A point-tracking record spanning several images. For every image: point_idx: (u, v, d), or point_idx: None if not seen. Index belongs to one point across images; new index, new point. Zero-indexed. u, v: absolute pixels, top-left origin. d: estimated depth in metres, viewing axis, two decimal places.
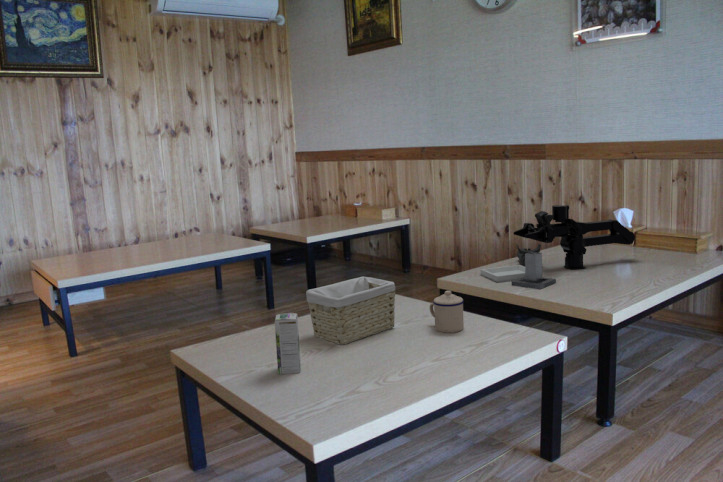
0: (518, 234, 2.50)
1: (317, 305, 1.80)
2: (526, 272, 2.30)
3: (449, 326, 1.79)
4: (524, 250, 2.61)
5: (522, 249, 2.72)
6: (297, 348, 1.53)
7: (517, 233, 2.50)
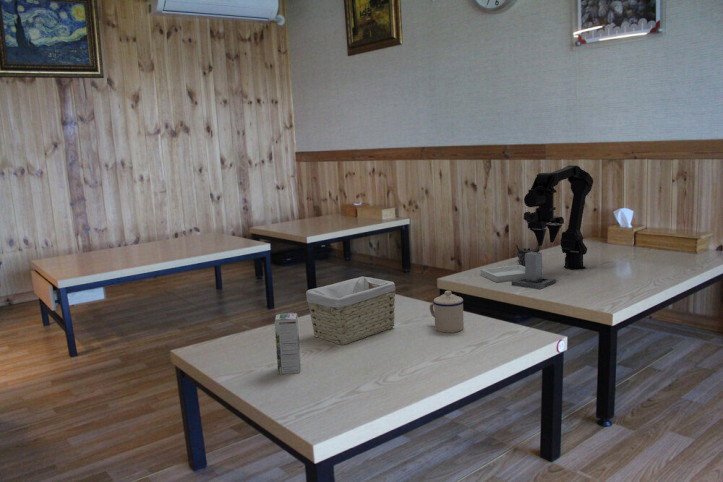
0: (553, 237, 2.42)
1: (317, 306, 1.80)
2: (526, 272, 2.30)
3: (449, 326, 1.79)
4: (523, 250, 2.61)
5: (522, 249, 2.72)
6: (297, 348, 1.53)
7: (552, 238, 2.43)
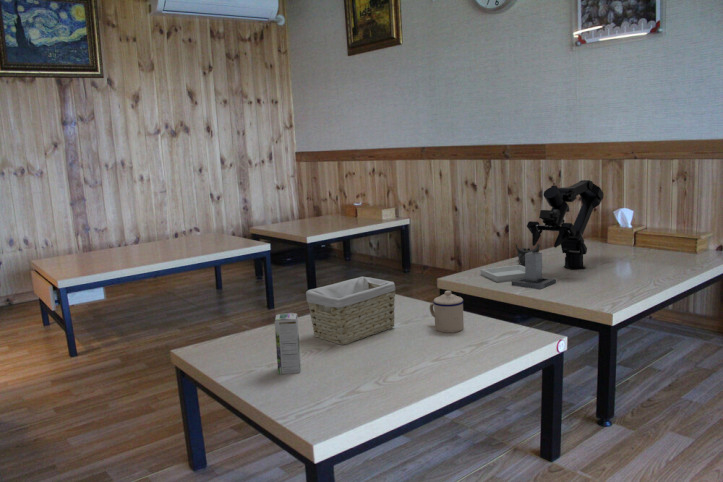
0: (536, 242, 2.39)
1: (317, 306, 1.79)
2: (526, 272, 2.30)
3: (449, 326, 1.79)
4: (523, 250, 2.61)
5: (522, 249, 2.72)
6: (297, 348, 1.53)
7: (535, 242, 2.38)
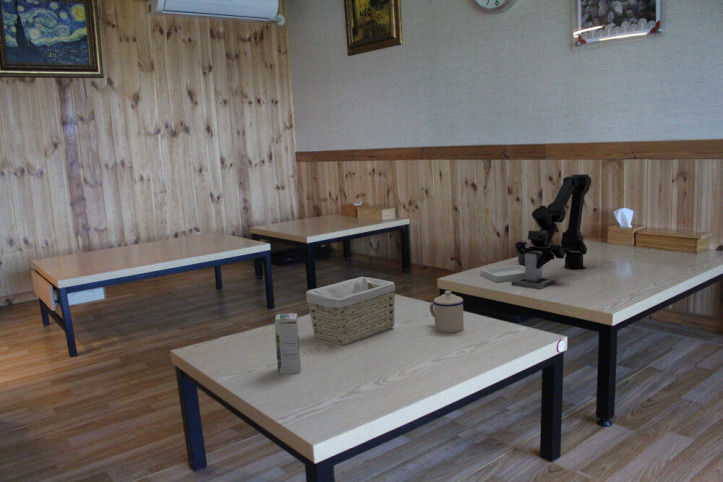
0: None
1: (317, 306, 1.79)
2: (526, 272, 2.30)
3: (449, 326, 1.79)
4: None
5: None
6: (297, 348, 1.53)
7: None
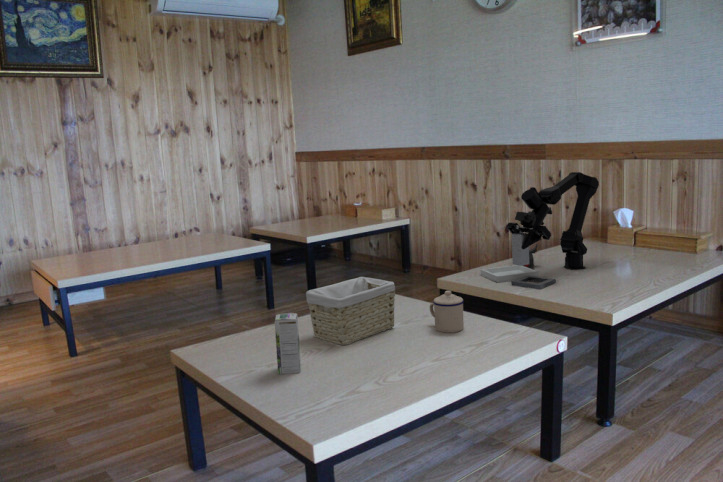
0: None
1: (317, 306, 1.79)
2: (513, 252, 2.35)
3: (449, 326, 1.79)
4: None
5: None
6: (297, 348, 1.53)
7: None
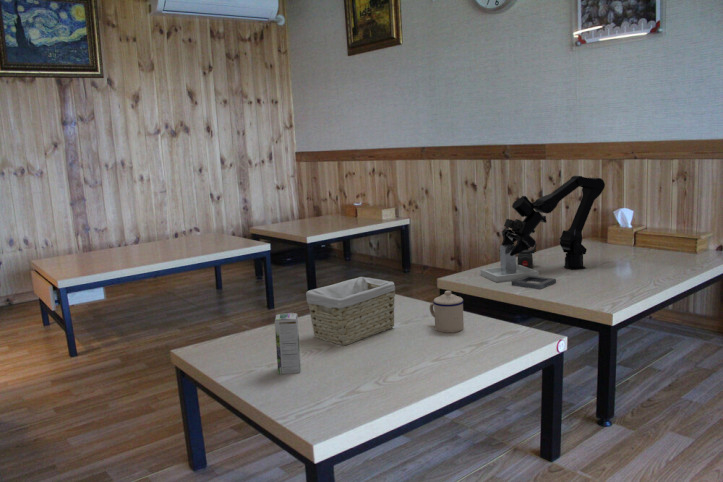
0: None
1: (317, 306, 1.79)
2: (501, 263, 2.46)
3: (449, 326, 1.79)
4: None
5: None
6: (297, 348, 1.53)
7: None
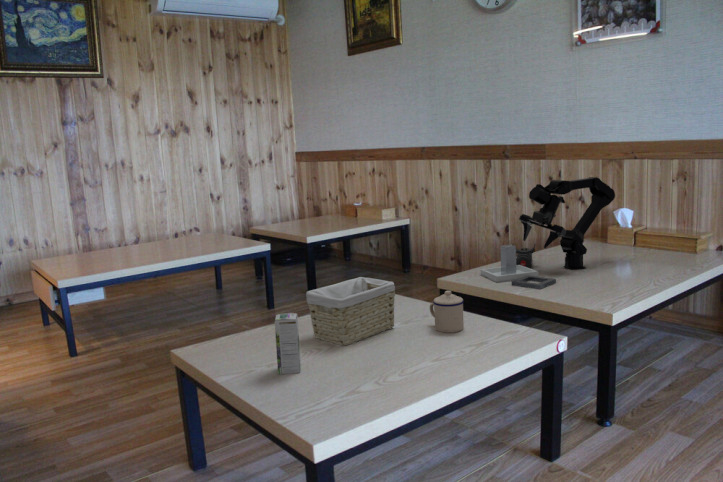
0: (526, 236, 2.48)
1: (317, 307, 1.78)
2: (501, 263, 2.46)
3: (449, 326, 1.79)
4: (520, 250, 2.62)
5: (523, 249, 2.73)
6: (297, 348, 1.53)
7: (526, 237, 2.48)
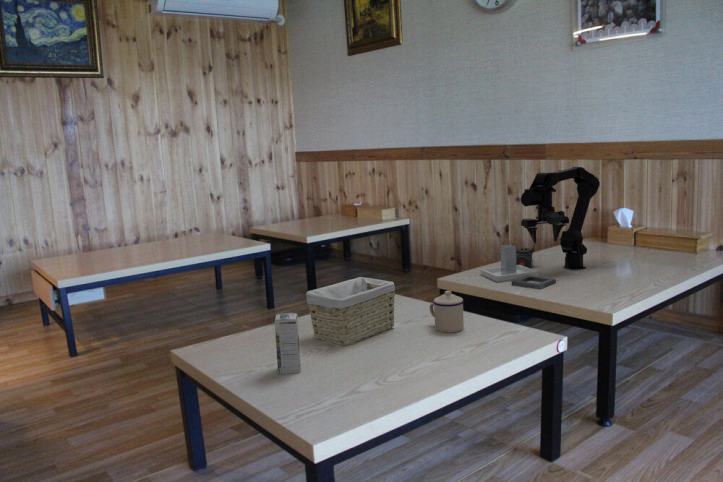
0: None
1: (318, 307, 1.78)
2: (501, 263, 2.46)
3: (449, 326, 1.79)
4: (520, 250, 2.63)
5: (524, 249, 2.73)
6: (297, 348, 1.53)
7: None
